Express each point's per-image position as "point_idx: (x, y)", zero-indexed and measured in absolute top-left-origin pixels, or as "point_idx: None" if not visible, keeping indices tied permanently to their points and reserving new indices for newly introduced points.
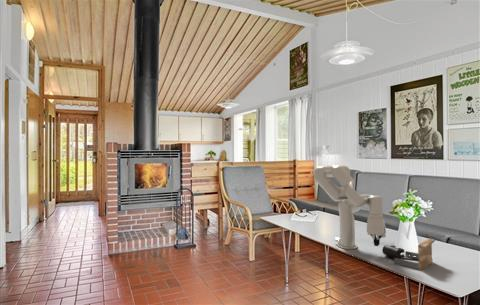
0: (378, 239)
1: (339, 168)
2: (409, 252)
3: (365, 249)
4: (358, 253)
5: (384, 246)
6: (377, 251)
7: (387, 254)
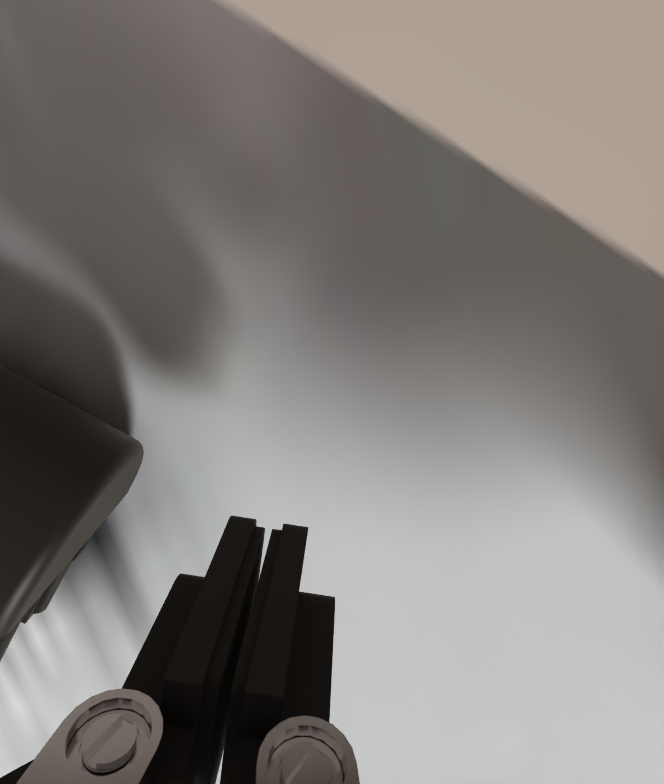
0: (78, 711)
1: None
2: None
3: (536, 613)
4: (632, 301)
5: (19, 538)
6: None
7: (19, 377)
